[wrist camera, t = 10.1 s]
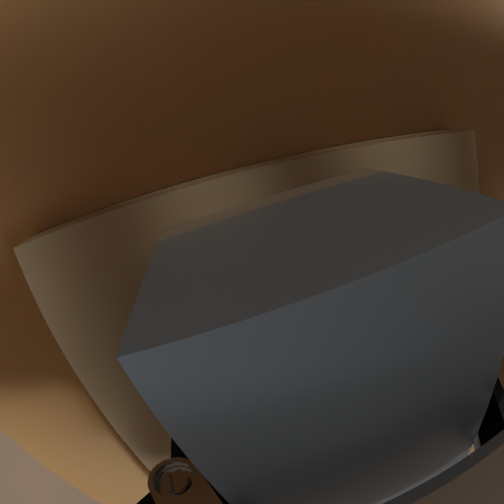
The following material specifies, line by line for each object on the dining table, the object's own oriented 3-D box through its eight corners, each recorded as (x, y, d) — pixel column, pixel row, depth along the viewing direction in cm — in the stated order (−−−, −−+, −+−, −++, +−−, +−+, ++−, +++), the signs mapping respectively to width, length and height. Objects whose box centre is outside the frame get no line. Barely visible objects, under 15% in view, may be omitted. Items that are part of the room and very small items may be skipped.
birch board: (449, 129, 10) (474, 130, 9) (412, 482, 20) (419, 494, 19) (33, 234, 9) (13, 248, 8) (239, 540, 19) (242, 553, 17)
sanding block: (366, 167, 9) (523, 206, 4) (388, 399, 12) (450, 488, 7) (162, 230, 8) (116, 357, 3) (260, 448, 12) (289, 557, 7)
